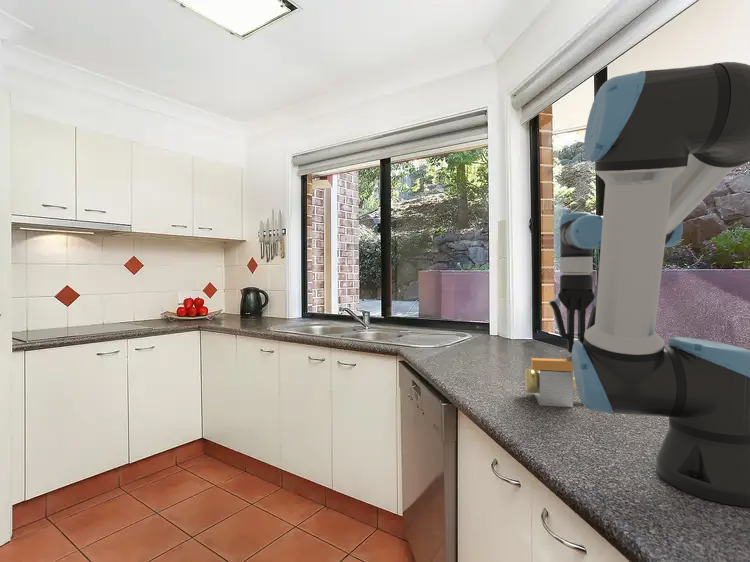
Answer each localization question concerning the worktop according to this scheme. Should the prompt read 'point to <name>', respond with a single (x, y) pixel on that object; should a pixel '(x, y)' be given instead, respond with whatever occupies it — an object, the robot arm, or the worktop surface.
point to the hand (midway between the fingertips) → (575, 365)
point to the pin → (535, 381)
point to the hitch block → (555, 388)
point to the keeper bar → (552, 364)
